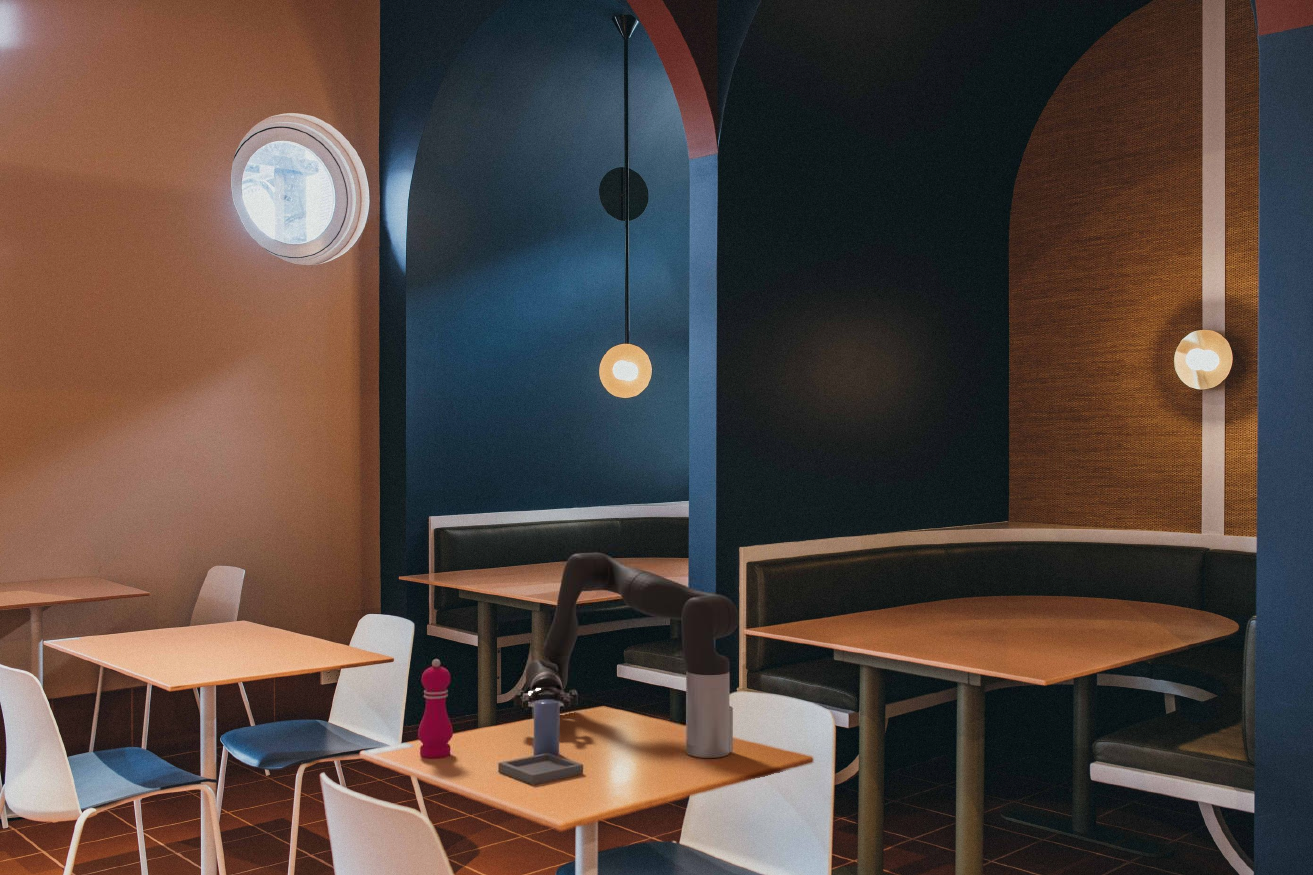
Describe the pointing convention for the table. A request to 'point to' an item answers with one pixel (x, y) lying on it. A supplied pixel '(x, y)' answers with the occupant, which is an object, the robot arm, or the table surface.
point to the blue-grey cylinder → (546, 727)
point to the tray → (540, 768)
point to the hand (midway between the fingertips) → (546, 704)
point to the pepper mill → (435, 713)
